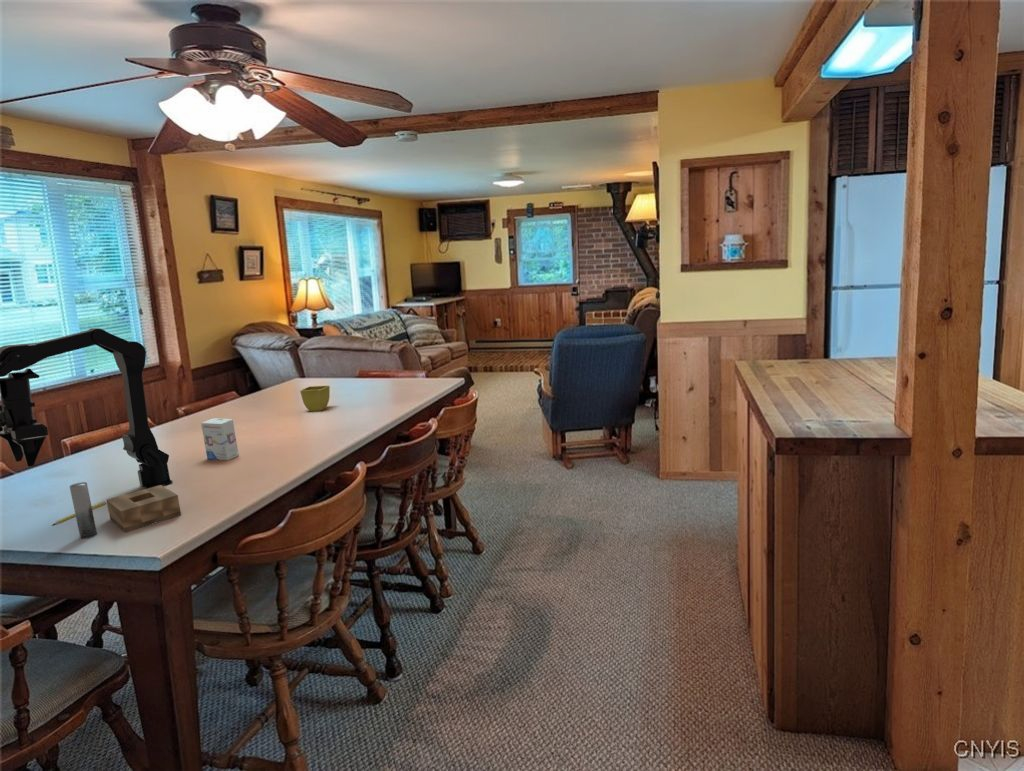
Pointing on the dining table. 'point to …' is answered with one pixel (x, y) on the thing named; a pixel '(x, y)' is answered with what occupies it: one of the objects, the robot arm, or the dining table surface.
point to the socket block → (143, 507)
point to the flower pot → (315, 397)
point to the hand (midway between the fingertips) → (24, 463)
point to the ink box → (220, 439)
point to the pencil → (75, 515)
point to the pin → (83, 510)
